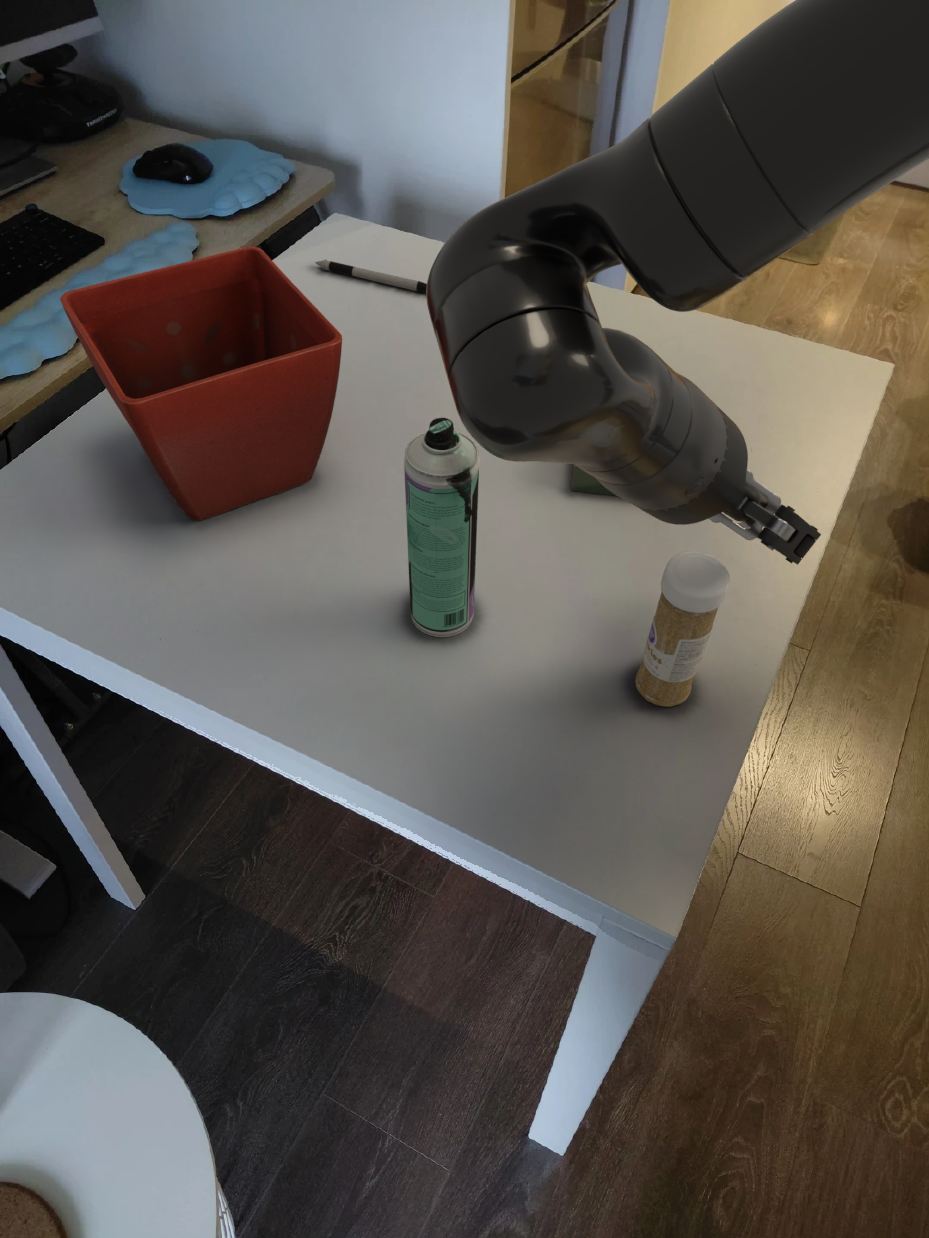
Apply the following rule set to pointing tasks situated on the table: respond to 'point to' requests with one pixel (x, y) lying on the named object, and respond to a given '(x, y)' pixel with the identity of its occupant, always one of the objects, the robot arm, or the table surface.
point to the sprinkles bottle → (681, 626)
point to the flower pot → (215, 374)
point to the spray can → (441, 528)
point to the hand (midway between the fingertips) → (746, 510)
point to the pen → (373, 275)
